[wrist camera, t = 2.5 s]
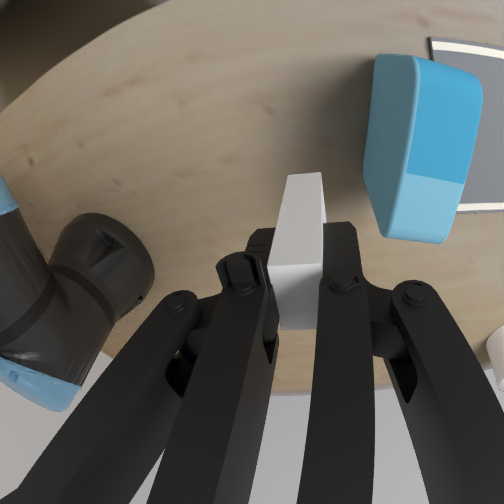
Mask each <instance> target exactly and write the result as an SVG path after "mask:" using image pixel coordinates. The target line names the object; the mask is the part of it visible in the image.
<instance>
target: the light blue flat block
mask: <svg viewBox="0 0 504 504" xmlns="http://www.w3.org/2000/svg"><path fill="white" fill-rule="evenodd" d="M482 103H483V92H482V87H481V84H480V81H479V79H478V78H477V77H476V76H475V75H474V74H472V73H470V72H467V71H464V70H461V69H458V68H455V67H452V66H448V65H445V64H442V63H438V62H435V61H431V60H428V59H424V58H420V57H416V56H411V55H398V54H378V55H377V56H376V59H375V63H374V70H373V83H372V94H371V104H370V114H369V122H368V131H367V139H366V146H365V153H364V160H363V180H364V183H365V186H366V189H367V192H368V195H369V198H370V201H371V204H372V207H373V210H374V213H375V217H376V220H377V223H378V227H379V230H380V233H381V235H382V236H383V237H385V238H393V239H402V240H410V241H417V242H425V243H433V244H441V243H443V242H444V241H445V240H446V238H447V237H448V234H449V232H450V229H451V226H452V223H453V220H454V217H455V214H456V211H457V208H458V205H459V202H460V199H461V195H462V192H463V188H464V185H465V181H466V178H467V174H468V170H469V166H470V162H471V158H472V154H473V150H474V145H475V141H476V136H477V131H478V126H479V121H480V115H481V109H482Z"/></svg>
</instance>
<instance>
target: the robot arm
mask: <svg viewBox="0 0 504 504" xmlns="http://www.w3.org/2000/svg"><path fill="white" fill-rule="evenodd" d="M18 207H19V205H18V202H17V201H16V200H14V198H13V196H12V194H11V192H10V190H9V188H8V186H7V184H6V182H5V180H4V178H3V176H2V175H1V173H0V381H1V382H2V383H4V384H5V385H7V386H8V387H9V388H11V389H12V390H14V391H15V392H17V393H19V394H20V395H22V396H23V397H25V398H27V399H28V400H30V401H32V402H34V403H36V404H38V405H40V406H42V407H44V408H46V409H48V410H51V411H55V412H61V411H63V410H66V409H67V408H68V407H69V405H70V404H71V402H72V401H73V399H74V397H75V396H76V394H77V392H78V391H79V390H81V388H82V385H83V383H84V381H85V379H86V377H87V375H88V373H89V371H90V369H91V367H92V365H93V363H94V361H95V359H96V358H97V356H98V354H99V352H100V350H101V348H102V346H103V344H104V343H105V341H106V339H107V337H108V335H109V333H110V332H111V330H112V328H113V326H114V325H115V323H116V322H117V321H118V320H120V319H121V318H122V317H124V316H125V315H126V314H127V313H129V312H130V311H131V310H132V309H134V308H135V307H136V306H138V305H139V304H140V303H141V302H142V301H143V300H144V299H145V298H146V296H147V294H148V292H149V291H150V289H151V287H152V285H153V282H154V268H153V264H152V261H151V258H150V256H149V254H148V252H147V250H146V249H145V247H144V246H143V244H142V243H141V241H140V240H139V239H138V238H137V237H136V236H135V235H134V234H133V233H132V232H131V231H130V230H129V229H128V228H127V227H125V226H124V225H122V224H121V223H119V222H118V221H116V220H114V219H112V218H110V217H108V216H105V215H101V214H96V213H86V214H82V215H79V216H78V217H76V218H75V219H73V220H72V221H71V222H70V223H69V224H68V225H67V226H66V227H65V228H64V230H63V231H62V233H61V235H60V237H59V239H58V242H57V244H56V246H55V248H54V251H53V253H52V255H51V258H50V260H49V263H48V265H47V263H46V261H45V259H44V258H43V256H42V254H41V252H40V250H39V249H38V247H37V245H36V243H35V241H34V239H33V237H32V235H31V233H30V231H29V229H28V227H27V225H26V223H25V221H24V219H23V217H22V215H21V213H20V211H19V209H18ZM215 267H216V270H217V273H218V276H219V278H220V281H221V284H222V287H223V289H222V292H221V293H220V294H217V295H214V296H210V297H206V298H202V299H197V297H196V295H195V294H194V293H193V292H191V291H188V290H180V291H176V292H173V293H171V294H169V295H167V296H166V297H165V298H164V299H163V300H161V301H160V303H159V304H158V305H157V306H156V307H155V309H154V310H153V311H152V312H151V313H150V315H149V316H148V317H147V318H146V320H145V321H144V322H143V323H142V324H141V326H140V327H139V328H138V329H137V331H136V332H135V333H134V334H133V336H132V337H131V338H130V339H129V340H128V342H127V343H126V344H125V345H124V347H123V348H122V349H121V350H120V352H119V353H118V354H117V355H116V357H115V358H114V359H113V361H112V362H111V363H110V364H109V366H108V367H107V368H106V369H105V371H104V372H103V373H102V374H101V376H100V377H99V378H98V380H97V381H96V382H95V384H94V385H93V386H92V387H91V389H90V390H89V391H88V392H87V394H86V395H85V396H84V398H83V399H82V401H81V402H80V403H79V404H78V406H77V407H76V408H75V410H74V411H73V412H72V414H71V415H70V416H69V418H68V419H67V420H66V421H65V423H64V424H63V426H62V427H61V428H60V430H59V431H58V433H57V434H56V435H55V436H54V438H53V439H52V441H51V442H50V443H49V445H48V446H47V447H46V449H45V450H44V451H43V453H42V454H41V456H40V457H39V458H38V460H37V461H36V463H35V464H34V465H33V467H32V468H31V470H30V471H29V473H28V474H27V475H26V477H25V478H24V480H23V481H22V483H21V484H20V485H19V487H18V488H17V489H16V490H14V491H13V492H11V493H10V494H8V495H7V496H5V497H4V498H2V499H1V500H0V504H129V503H130V501H131V500H132V498H133V497H134V495H135V494H136V492H137V491H138V489H139V488H140V486H141V485H142V483H143V482H144V480H145V478H146V477H147V475H148V474H149V472H150V471H151V469H152V468H153V466H154V465H155V463H156V461H157V460H158V458H159V457H160V455H161V454H162V452H163V451H164V449H165V451H164V454H163V456H162V459H161V462H160V465H159V468H158V471H157V474H156V477H155V480H154V483H153V486H152V489H151V491H150V495H149V498H148V500H147V503H146V504H248V502H249V498H250V493H251V489H252V484H253V479H254V475H255V470H256V465H257V460H258V455H259V451H260V446H261V441H262V435H263V430H264V425H265V420H266V415H267V409H268V404H269V399H270V393H271V388H272V382H273V376H274V371H275V365H276V359H277V353H278V347H279V337H278V332H277V330H278V324H279V322H280V327H281V330H297V329H317V332H316V347H315V359H314V371H313V382H312V392H311V402H310V411H309V421H308V429H307V437H306V444H305V452H304V459H303V466H302V473H301V480H300V486H299V492H298V498H297V504H372V494H373V478H374V454H375V451H374V450H375V400H374V399H375V398H374V397H375V396H374V370H373V356H377V357H382V358H383V359H384V362H385V365H386V368H387V370H388V373H389V376H390V379H391V381H392V384H393V387H394V390H395V392H396V395H397V398H398V401H399V404H400V407H401V410H402V412H403V415H404V418H405V421H406V424H407V428H408V431H409V433H410V437H411V440H412V443H413V446H414V449H415V453H416V456H417V460H418V463H419V467H420V470H421V474H422V477H423V481H424V485H425V488H426V492H427V496H428V500H429V504H504V412H503V410H502V408H501V405H500V403H499V401H498V399H497V397H496V395H495V393H494V391H493V389H492V387H491V385H490V383H489V381H488V379H487V377H486V375H485V373H484V371H483V369H482V367H481V365H480V364H479V362H478V360H477V358H476V356H475V354H474V353H473V351H472V349H471V347H470V346H469V344H468V342H467V340H466V339H465V337H464V335H463V333H462V332H461V330H460V328H459V327H458V325H457V323H456V322H455V320H454V319H453V317H452V315H451V314H450V312H449V311H448V309H447V307H446V306H445V304H444V303H443V301H442V300H441V298H440V297H439V295H438V293H437V292H436V291H435V289H434V288H433V287H432V286H431V285H429V284H427V283H425V282H423V281H418V280H408V281H404V282H402V283H399V284H398V285H397V286H396V287H395V288H394V289H393V290H388V289H383V288H379V287H376V286H374V285H372V284H371V283H369V282H368V281H367V280H366V279H365V277H364V276H363V272H362V266H361V258H360V251H359V246H358V239H357V232H356V228H355V227H354V226H353V225H352V224H351V223H350V222H334V223H326V213H325V204H324V194H323V186H322V177H321V172H316V173H304V174H294V175H288V178H287V182H286V186H285V191H284V195H283V200H282V204H281V208H280V213H279V217H278V221H277V226H276V228H263V229H257V230H256V231H255V232H254V233H253V234H252V235H251V236H250V238H249V241H248V243H247V247H246V249H245V252H243V251H242V252H236V253H232V254H230V255H228V256H225V257H224V258H223V259H221V260H220V261H219V262H218V263H217V265H216V266H215ZM177 351H179V352H178V353H177ZM176 353H177V354H176ZM175 354H176V355H175Z"/></svg>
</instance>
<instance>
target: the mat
mask: <svg viewBox="0 0 504 504" xmlns="http://www.w3.org/2000/svg"><path fill="white" fill-rule="evenodd" d="M429 41H430V48H431V56H432V61H435V62H438V63H442V64H445V65H448V66H452V67H455V68H458V69H461V70H464V71H467V72H470V73H472V74H474V75H475V76H476V77H477V78H478V79H479V81H480V84H481V87H482V92H483V103H482V109H481V115H480V121H479V126H478V131H477V136H476V141H475V145H474V150H473V154H472V158H471V162H470V166H469V170H468V174H467V178H466V181H465V185H464V188H463V192H462V195H461V199H460V202H459V205H458V208H457V211H456V214H464V213H488V212H504V47H499V46H494V45H489V44H483V43H477V42H471V41H464V40H457V39H448V38H438V37H429Z"/></svg>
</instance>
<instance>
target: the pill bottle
mask: <svg viewBox="0 0 504 504" xmlns="http://www.w3.org/2000/svg"><path fill="white" fill-rule="evenodd" d="M486 349H487V352H488V355H489V358H490V361H491V364H492V368H493V371H494V374H495V378H496V382H497V385H498V389H499V390H501V391H503V392H504V325H502V326H501V327H499V328H498V329H496V330H495V331H494V332H493V333H492V334H491V335H490V337H489V338H488V340H487V342H486Z"/></svg>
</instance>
